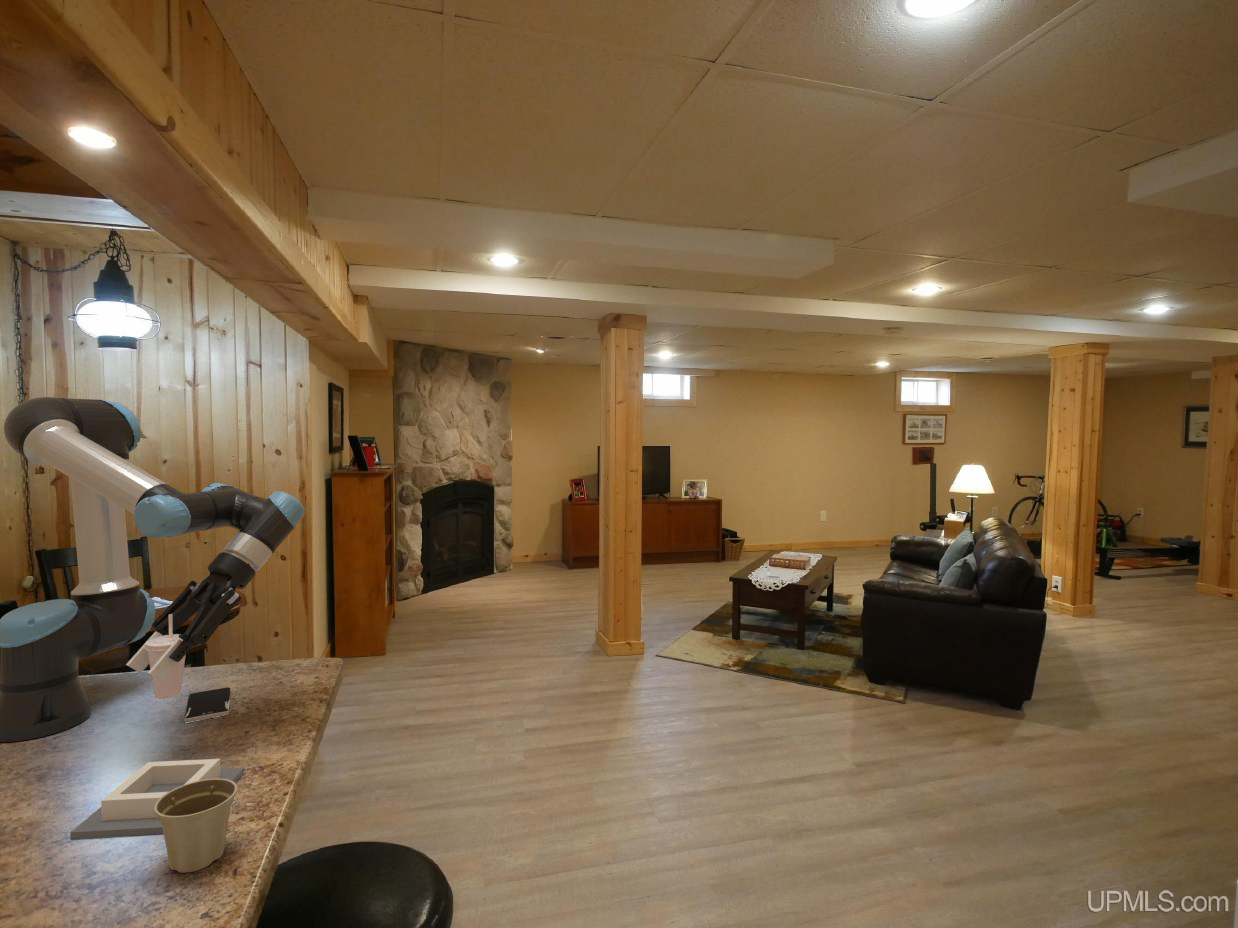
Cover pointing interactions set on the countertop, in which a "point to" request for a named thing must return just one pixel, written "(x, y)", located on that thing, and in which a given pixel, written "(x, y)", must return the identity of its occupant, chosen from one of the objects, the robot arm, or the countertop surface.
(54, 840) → the countertop surface
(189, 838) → the flower pot
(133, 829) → the socket
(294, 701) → the countertop surface
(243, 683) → the countertop surface
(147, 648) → the smoothie
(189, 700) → the smartphone
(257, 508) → the robot arm
